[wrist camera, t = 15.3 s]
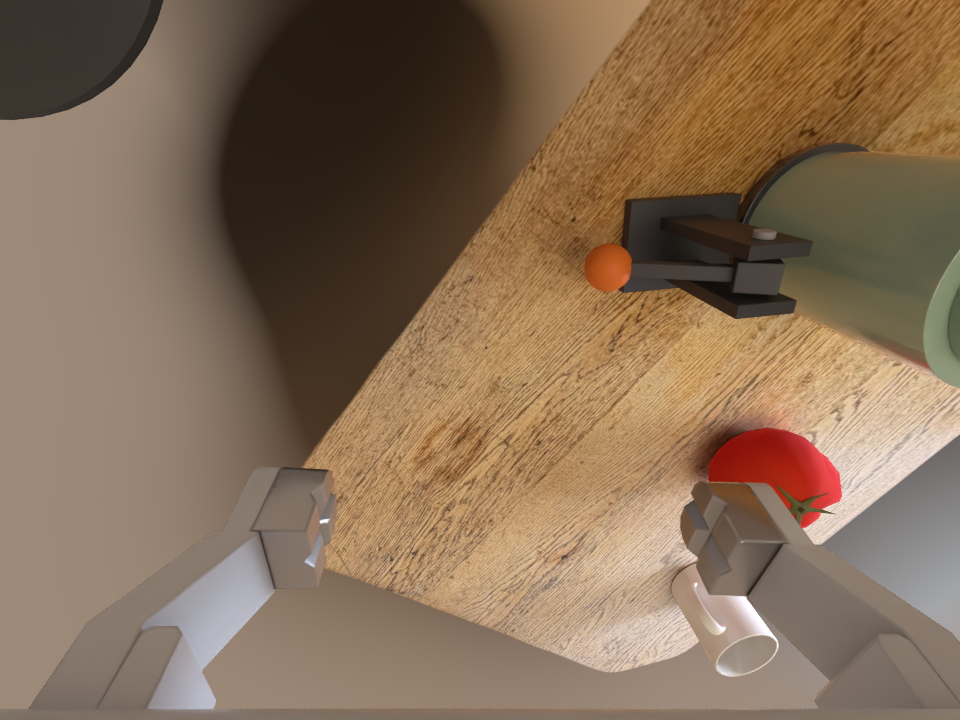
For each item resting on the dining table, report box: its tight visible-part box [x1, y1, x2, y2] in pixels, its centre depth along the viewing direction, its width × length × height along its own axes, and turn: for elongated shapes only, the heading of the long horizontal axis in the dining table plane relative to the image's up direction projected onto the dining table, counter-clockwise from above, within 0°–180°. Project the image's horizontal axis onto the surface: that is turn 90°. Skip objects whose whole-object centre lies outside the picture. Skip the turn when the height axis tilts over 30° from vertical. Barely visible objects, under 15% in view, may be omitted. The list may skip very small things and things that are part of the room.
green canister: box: [729, 143, 960, 388], centre depth 34 cm, size 15×15×21 cm
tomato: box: [708, 428, 842, 528], centre depth 50 cm, size 11×13×10 cm
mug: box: [671, 563, 778, 677], centre depth 59 cm, size 12×8×10 cm, turn 45°
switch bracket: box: [619, 193, 813, 319], centre depth 37 cm, size 10×8×13 cm
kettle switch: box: [584, 243, 785, 295], centre depth 34 cm, size 13×4×4 cm, turn 93°
